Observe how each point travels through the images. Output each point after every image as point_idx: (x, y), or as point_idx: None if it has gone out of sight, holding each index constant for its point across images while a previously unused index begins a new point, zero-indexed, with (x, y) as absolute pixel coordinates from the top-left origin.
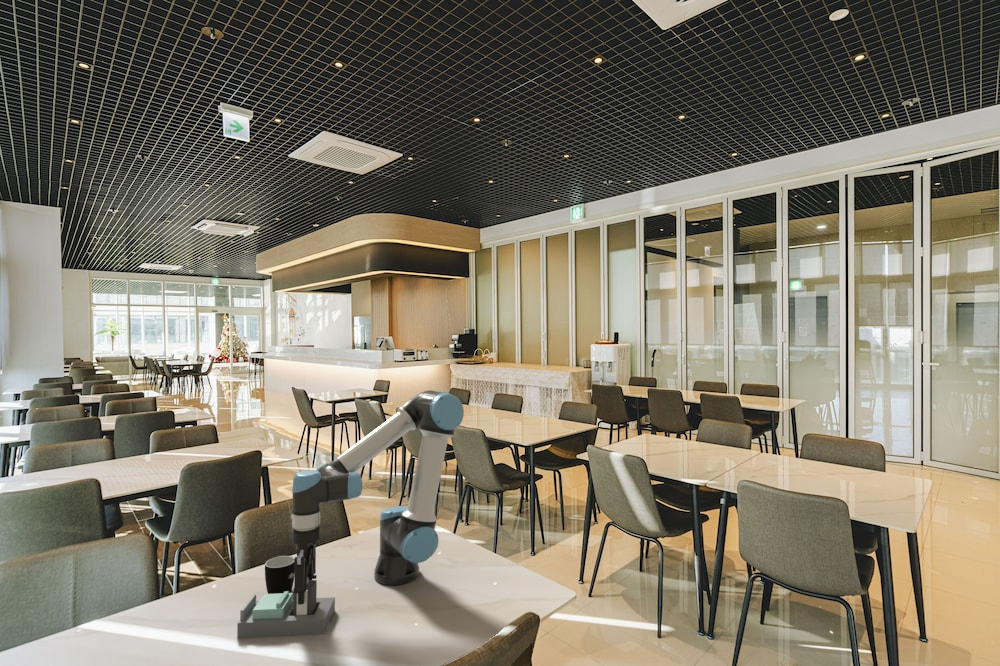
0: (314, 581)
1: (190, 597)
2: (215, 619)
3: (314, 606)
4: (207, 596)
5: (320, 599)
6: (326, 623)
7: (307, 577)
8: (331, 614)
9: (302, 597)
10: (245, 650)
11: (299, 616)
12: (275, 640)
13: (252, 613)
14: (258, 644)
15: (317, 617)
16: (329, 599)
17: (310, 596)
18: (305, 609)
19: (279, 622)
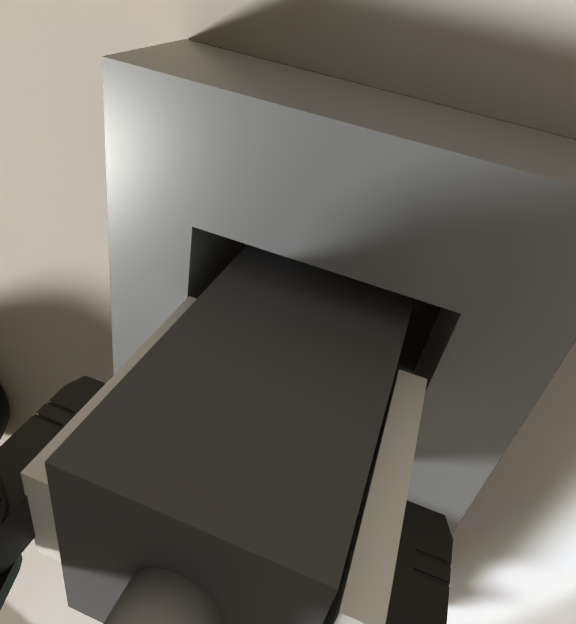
0: (89, 495)
1: (24, 612)
2: None
3: (288, 298)
4: (14, 582)
5: (138, 224)
6: (548, 148)
7: (3, 561)
8: (311, 80)
9: (446, 617)
10: (530, 600)
11: (431, 430)
12: (499, 481)
13: None
14: (496, 550)
15: (554, 289)
16: (148, 127)
17: (363, 482)
18: (418, 426)
19: None
